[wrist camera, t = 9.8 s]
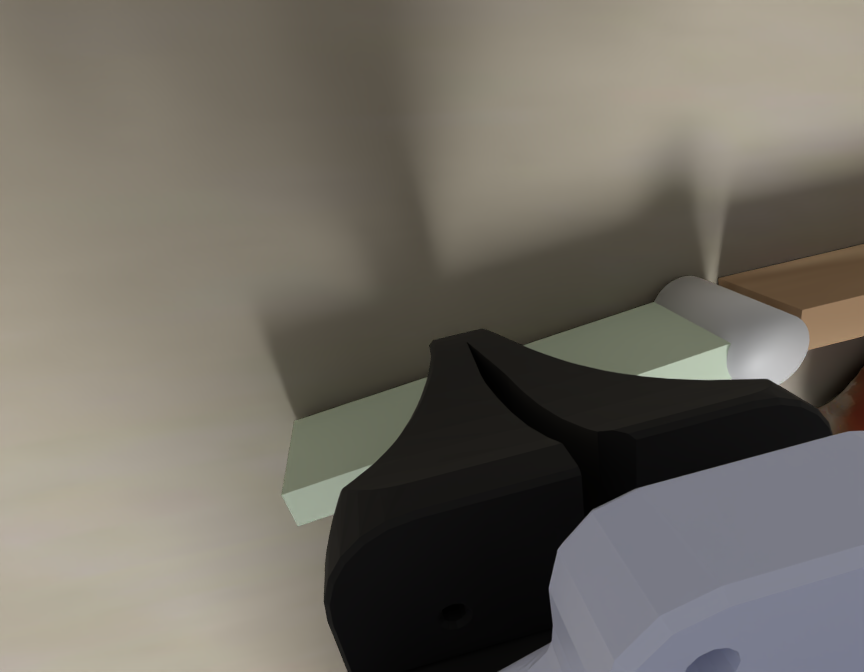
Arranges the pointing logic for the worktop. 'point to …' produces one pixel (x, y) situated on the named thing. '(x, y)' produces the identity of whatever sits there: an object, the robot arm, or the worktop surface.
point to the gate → (586, 345)
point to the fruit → (847, 407)
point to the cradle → (812, 292)
